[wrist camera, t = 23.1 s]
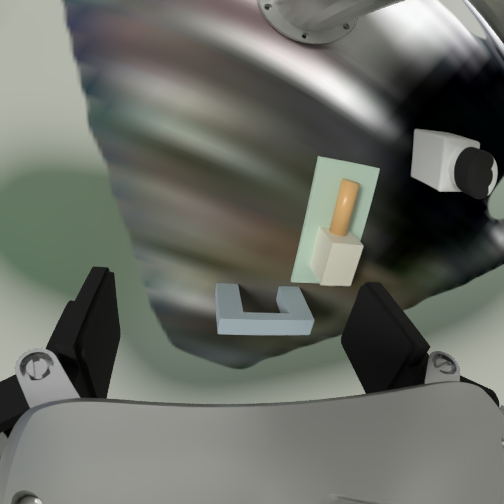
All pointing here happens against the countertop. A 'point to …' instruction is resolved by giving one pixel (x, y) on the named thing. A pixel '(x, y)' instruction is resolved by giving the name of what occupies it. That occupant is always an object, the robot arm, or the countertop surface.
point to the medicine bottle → (452, 163)
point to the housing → (246, 323)
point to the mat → (332, 207)
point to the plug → (338, 242)
